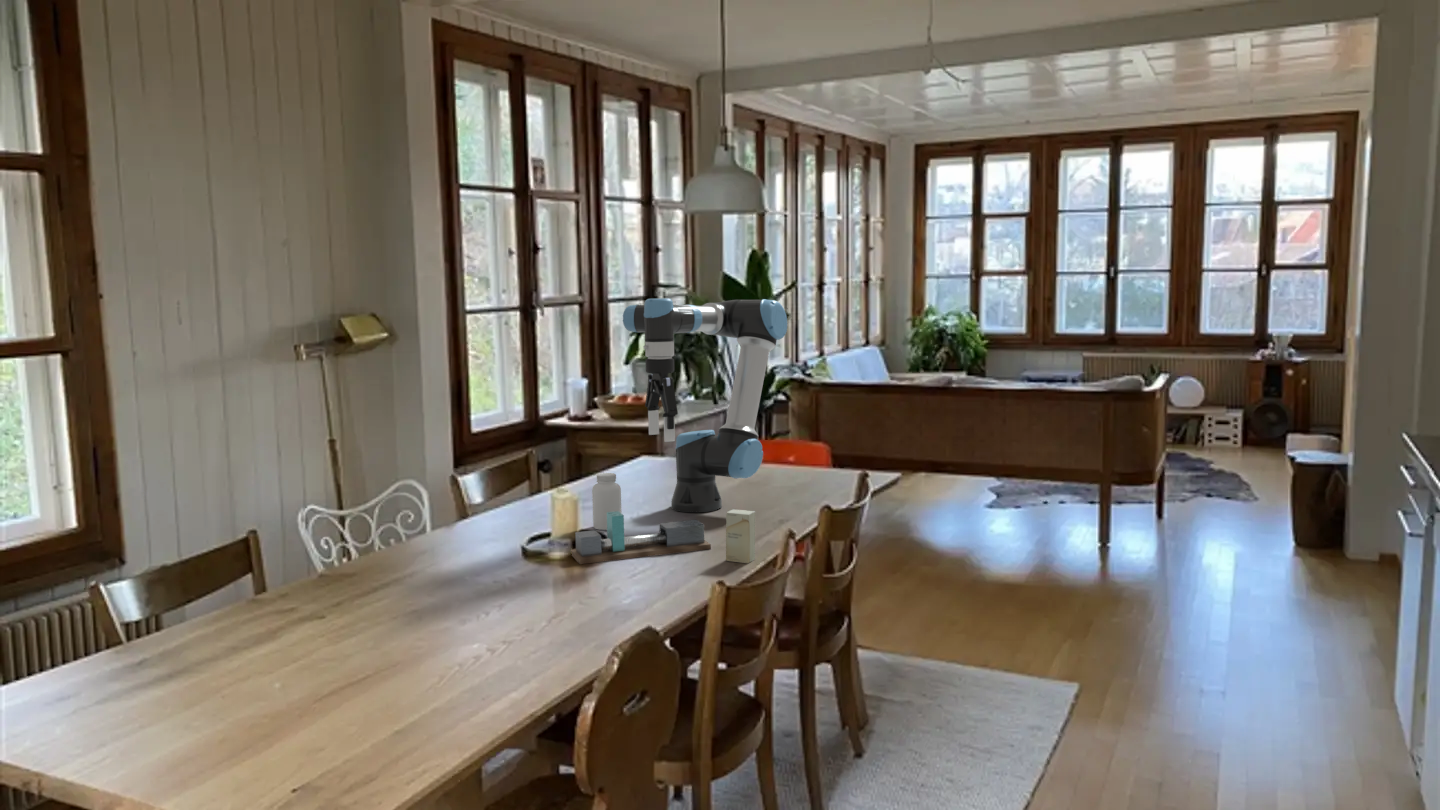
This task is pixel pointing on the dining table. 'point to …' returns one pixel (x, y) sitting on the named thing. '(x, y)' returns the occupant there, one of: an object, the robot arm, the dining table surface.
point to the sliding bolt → (620, 542)
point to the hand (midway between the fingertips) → (661, 438)
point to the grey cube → (588, 543)
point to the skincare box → (740, 536)
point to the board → (639, 552)
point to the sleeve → (683, 532)
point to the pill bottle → (605, 499)
